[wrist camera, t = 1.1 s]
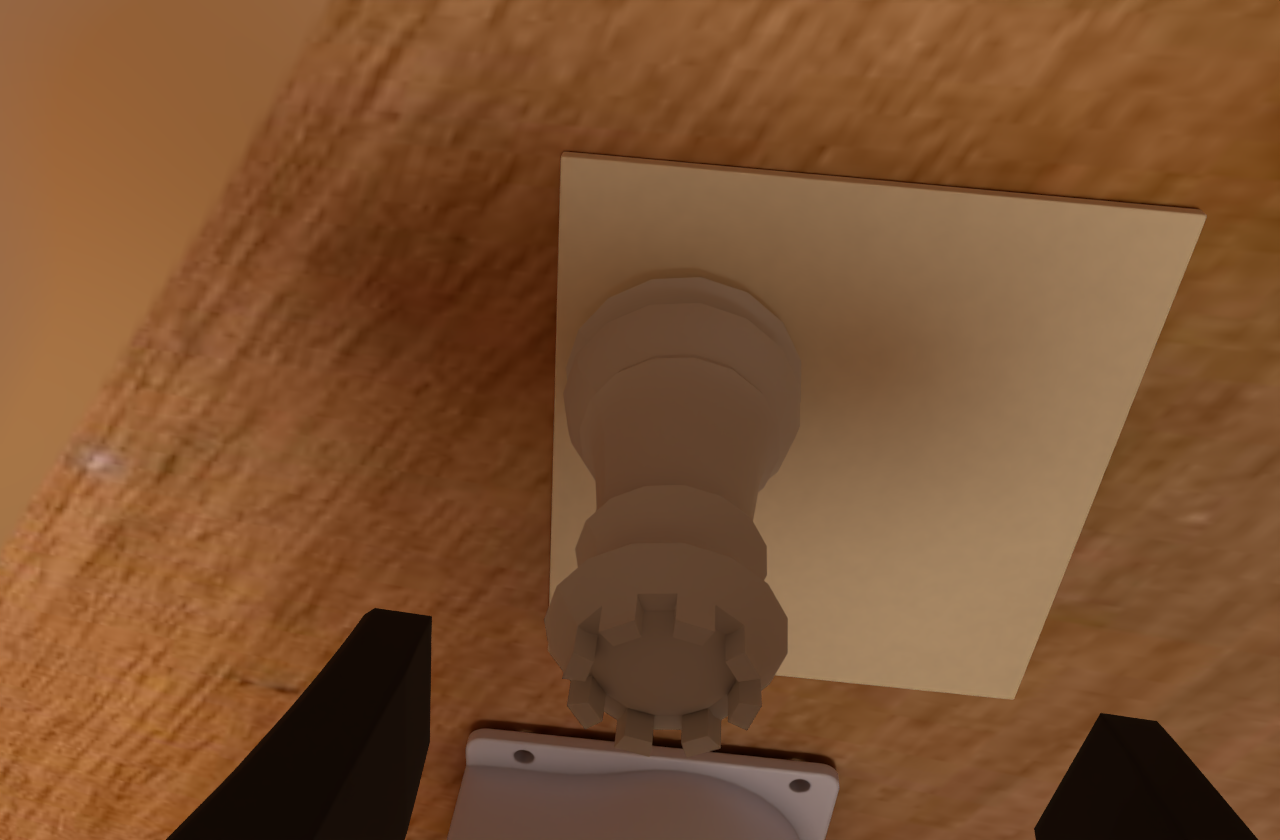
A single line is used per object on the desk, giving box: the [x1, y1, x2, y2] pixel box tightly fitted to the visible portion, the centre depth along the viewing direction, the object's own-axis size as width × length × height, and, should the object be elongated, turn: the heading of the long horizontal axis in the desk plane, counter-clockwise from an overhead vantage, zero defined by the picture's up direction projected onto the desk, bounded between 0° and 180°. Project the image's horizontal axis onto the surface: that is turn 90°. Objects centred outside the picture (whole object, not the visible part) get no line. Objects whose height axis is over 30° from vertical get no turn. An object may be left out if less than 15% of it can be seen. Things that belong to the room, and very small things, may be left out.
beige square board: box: [548, 152, 1207, 700], centre depth 20 cm, size 11×12×1 cm
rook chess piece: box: [544, 277, 801, 757], centre depth 16 cm, size 4×4×8 cm
